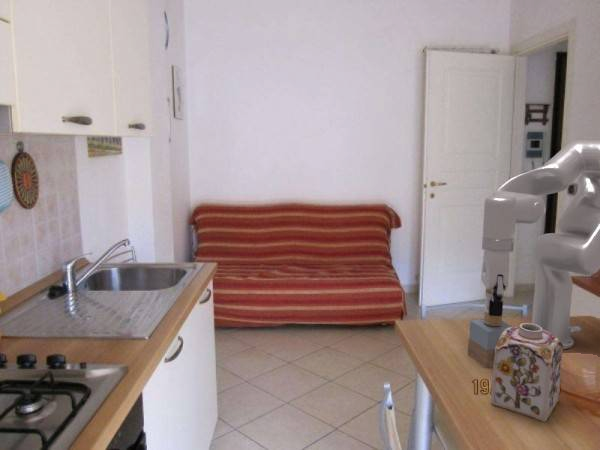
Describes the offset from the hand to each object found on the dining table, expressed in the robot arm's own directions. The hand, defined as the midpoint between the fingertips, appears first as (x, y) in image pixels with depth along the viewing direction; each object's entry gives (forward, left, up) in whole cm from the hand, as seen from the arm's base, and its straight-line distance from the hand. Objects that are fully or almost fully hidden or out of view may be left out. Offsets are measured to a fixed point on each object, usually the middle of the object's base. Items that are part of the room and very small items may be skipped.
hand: (493, 311), depth 130 cm
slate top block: (0, 0, -9) cm, 9 cm away
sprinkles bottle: (0, 0, -4) cm, 4 cm away
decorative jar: (+7, +21, -14) cm, 26 cm away
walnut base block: (0, 0, -14) cm, 14 cm away
